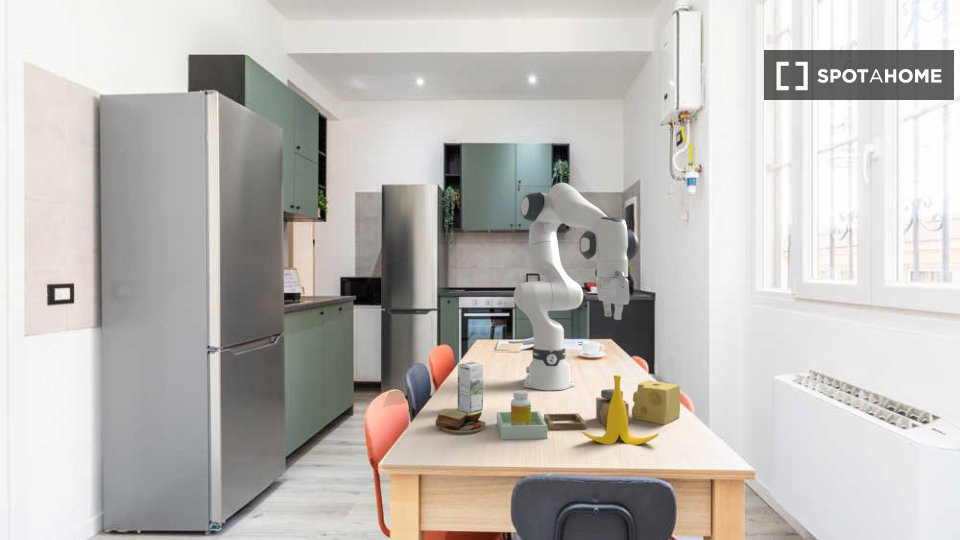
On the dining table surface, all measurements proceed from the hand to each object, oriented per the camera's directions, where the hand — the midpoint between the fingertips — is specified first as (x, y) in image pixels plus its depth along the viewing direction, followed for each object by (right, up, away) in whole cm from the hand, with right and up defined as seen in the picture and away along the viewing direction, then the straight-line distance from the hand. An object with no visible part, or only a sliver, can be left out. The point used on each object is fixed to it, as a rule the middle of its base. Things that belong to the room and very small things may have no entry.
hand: (612, 318), depth 160 cm
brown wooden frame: (-15, -29, -8) cm, 34 cm away
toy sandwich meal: (-45, -30, -10) cm, 55 cm away
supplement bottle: (-28, -29, -13) cm, 42 cm away
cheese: (+12, -29, -2) cm, 32 cm away
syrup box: (-42, -30, +8) cm, 52 cm away
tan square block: (-2, -29, -5) cm, 30 cm away
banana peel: (-2, -30, -22) cm, 37 cm away
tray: (-28, -29, -13) cm, 43 cm away
